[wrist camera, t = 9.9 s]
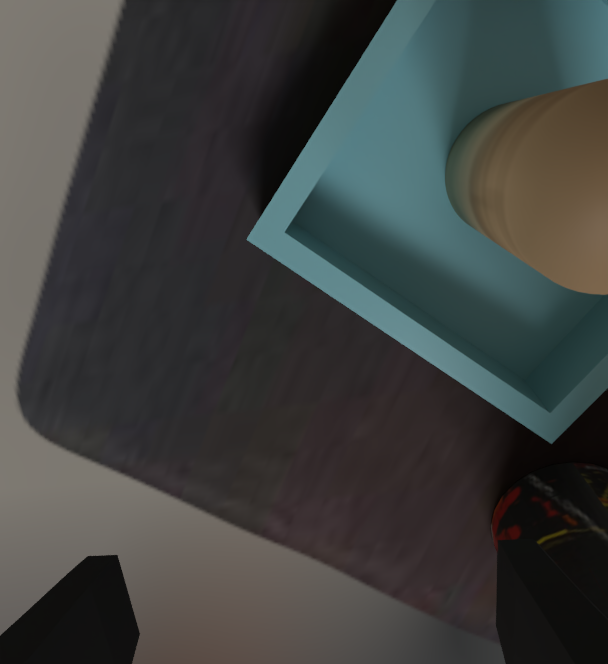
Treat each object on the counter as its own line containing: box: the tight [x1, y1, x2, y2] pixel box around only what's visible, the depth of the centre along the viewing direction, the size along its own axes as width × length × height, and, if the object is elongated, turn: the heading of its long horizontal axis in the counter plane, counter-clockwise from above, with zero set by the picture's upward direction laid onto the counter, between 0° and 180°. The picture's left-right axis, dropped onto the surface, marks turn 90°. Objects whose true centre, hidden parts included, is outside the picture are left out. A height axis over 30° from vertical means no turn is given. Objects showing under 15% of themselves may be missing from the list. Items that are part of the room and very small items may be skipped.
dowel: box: [445, 79, 608, 295], centre depth 13 cm, size 4×4×7 cm
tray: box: [246, 0, 608, 444], centre depth 16 cm, size 12×12×3 cm
